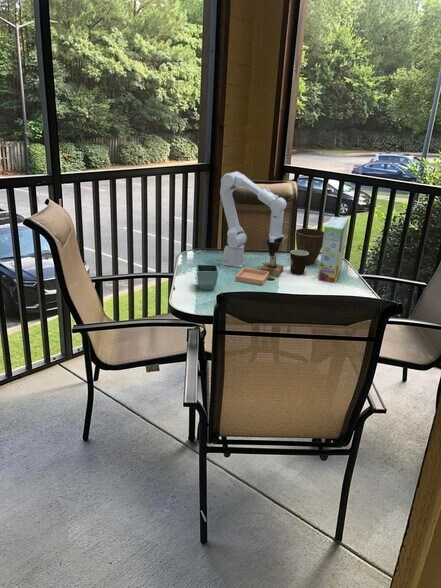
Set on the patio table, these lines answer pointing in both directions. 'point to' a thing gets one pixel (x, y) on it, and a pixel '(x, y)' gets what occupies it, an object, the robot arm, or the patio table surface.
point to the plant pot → (309, 243)
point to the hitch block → (273, 269)
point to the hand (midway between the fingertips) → (273, 253)
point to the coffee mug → (298, 261)
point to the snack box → (333, 249)
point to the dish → (252, 276)
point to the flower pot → (207, 276)
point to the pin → (272, 261)
